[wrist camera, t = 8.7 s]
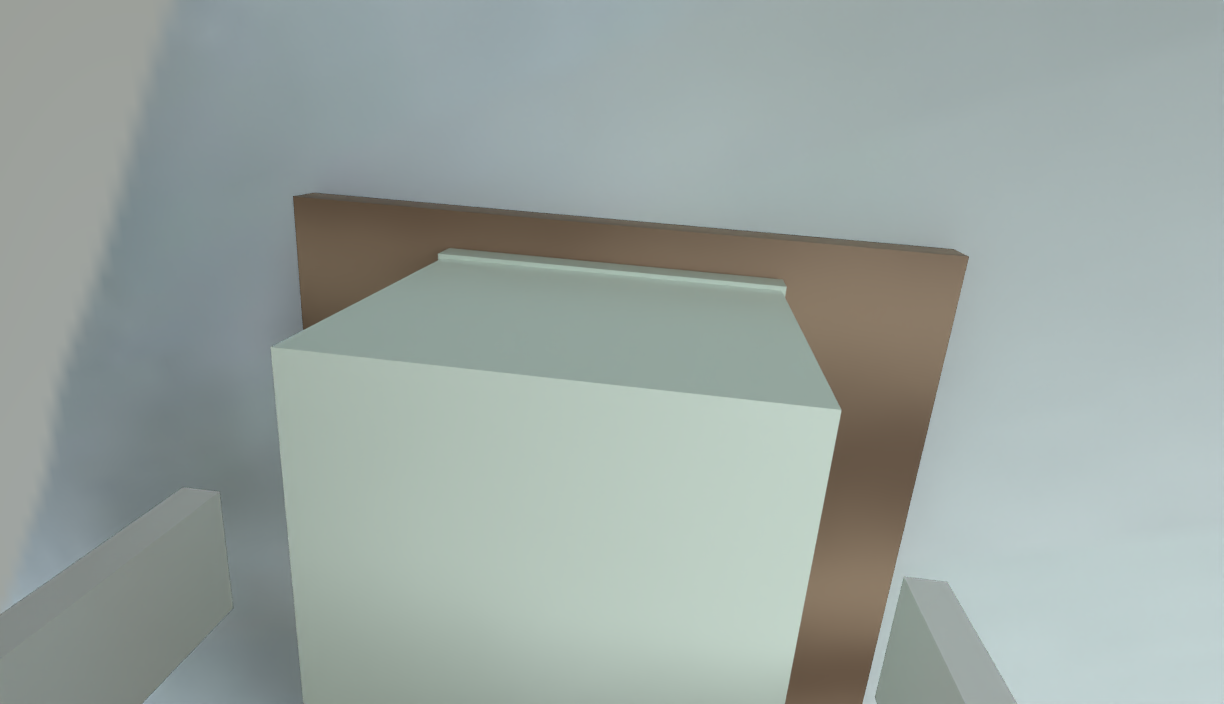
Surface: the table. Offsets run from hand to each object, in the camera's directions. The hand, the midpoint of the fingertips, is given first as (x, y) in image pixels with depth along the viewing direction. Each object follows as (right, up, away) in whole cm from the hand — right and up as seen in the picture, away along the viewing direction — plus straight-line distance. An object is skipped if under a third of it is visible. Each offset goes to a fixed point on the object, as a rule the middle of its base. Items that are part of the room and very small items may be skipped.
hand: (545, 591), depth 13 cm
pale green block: (+1, +2, +5) cm, 6 cm away
